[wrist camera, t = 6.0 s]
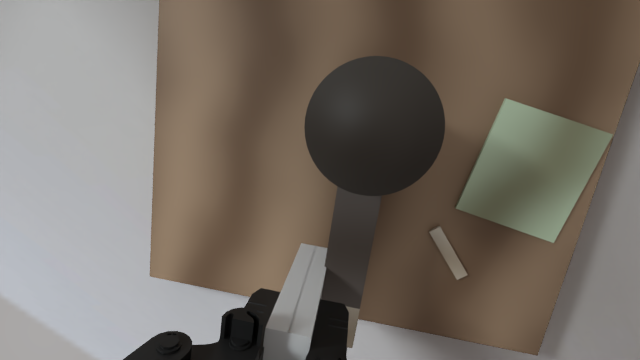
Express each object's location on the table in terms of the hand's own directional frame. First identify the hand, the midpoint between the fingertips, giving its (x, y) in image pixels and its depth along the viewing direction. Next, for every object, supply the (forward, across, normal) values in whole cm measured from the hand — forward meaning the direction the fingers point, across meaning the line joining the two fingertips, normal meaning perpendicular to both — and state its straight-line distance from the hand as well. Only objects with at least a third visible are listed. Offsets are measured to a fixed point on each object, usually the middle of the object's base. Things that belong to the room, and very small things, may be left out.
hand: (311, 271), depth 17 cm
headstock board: (+4, +2, +7) cm, 8 cm away
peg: (+2, +2, +4) cm, 4 cm away
